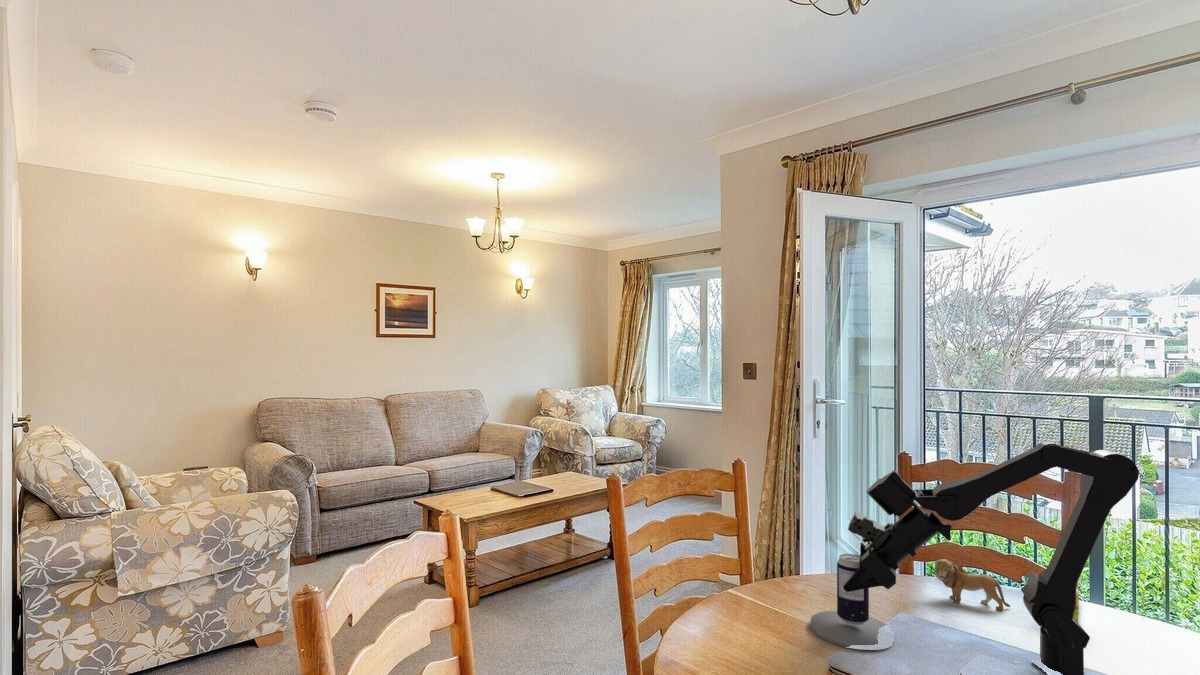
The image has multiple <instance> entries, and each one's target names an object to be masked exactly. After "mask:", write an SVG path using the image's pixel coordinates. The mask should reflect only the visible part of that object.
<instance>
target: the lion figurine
mask: <svg viewBox="0 0 1200 675" xmlns="http://www.w3.org/2000/svg"><path fill="white" fill-rule="evenodd" d="M933 570H934V571H933V572H934V575H935V578H937V579H938V580H939V581H940V582H942V583H943V584H944V586H945V587H947V588H949V589H951V592H952V595H949V599H951V598H956V599H952V600H953V601H952V602H953V603H954V602H956V603H958V604H960V603H961V601H962V595H961V594H962V592H963V590H964V591H970V592H974V591H975V592H976V591H980V590H983V591H984V593H985V596H986V598H985V599H982V600H981V601H980V602H981V604H984V605H987V604H989V603H990V601H992V600H993V601H995V602H996V603H997V604H998V606H996V607H995V610H997V611H998V612H1003V611H1004V606H1005V607H1007V608H1008V607H1009V608H1011V604H1009V603H1007V602H1006V600H1005V596H1004V594H1003V593H1004V592H1003V590H1002V587H1001V585H1000V583H999V581H997V579H995V578H994V577H993V576H990V575H988V574H973V573H968V571H965V570H964V569H963V568H962V567H961V566H959V565H957V564H955V563H954V562H953V561H950V560H949V559H944V558H939V559H937V560H935V561H934V569H933ZM997 590H998V593H999V595H998V593H997ZM956 603H955V604H956Z"/></svg>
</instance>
